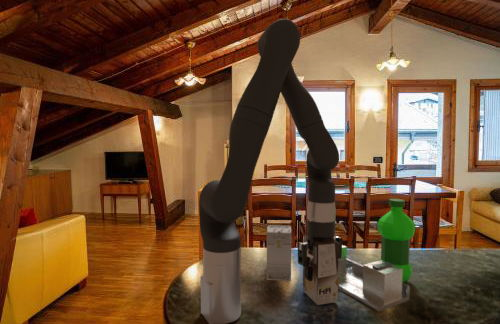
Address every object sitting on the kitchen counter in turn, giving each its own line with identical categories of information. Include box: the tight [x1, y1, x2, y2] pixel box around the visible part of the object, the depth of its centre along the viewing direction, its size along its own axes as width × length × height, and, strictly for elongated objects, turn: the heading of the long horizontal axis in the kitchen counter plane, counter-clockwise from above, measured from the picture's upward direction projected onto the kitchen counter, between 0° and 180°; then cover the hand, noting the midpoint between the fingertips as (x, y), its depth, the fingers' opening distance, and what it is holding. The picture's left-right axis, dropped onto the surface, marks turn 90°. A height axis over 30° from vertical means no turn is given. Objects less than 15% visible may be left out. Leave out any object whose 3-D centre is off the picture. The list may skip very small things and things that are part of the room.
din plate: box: [338, 244, 411, 312], centre depth 97 cm, size 12×28×10 cm, turn 29°
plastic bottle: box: [377, 198, 416, 283], centre depth 99 cm, size 10×10×25 cm
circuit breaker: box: [266, 224, 292, 282], centre depth 106 cm, size 8×14×15 cm, turn 174°
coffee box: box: [302, 234, 339, 306], centre depth 89 cm, size 9×6×16 cm
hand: (319, 276), depth 89 cm, fingers closed on coffee box, 7 cm apart
